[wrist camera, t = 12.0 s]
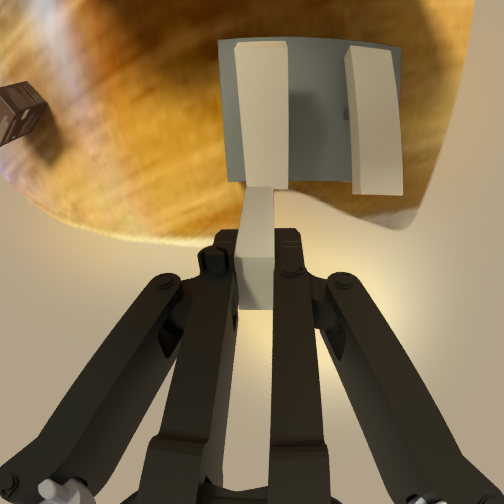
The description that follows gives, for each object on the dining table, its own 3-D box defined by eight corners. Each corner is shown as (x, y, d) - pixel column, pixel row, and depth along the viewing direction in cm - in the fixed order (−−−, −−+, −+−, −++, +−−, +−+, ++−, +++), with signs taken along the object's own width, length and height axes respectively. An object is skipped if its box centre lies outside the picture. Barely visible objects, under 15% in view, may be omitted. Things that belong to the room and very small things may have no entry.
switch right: (352, 194, 28) (360, 193, 25) (343, 57, 26) (350, 45, 23) (391, 195, 28) (403, 195, 25) (381, 62, 25) (390, 50, 22)
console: (232, 172, 38) (225, 192, 33) (223, 42, 29) (213, 37, 24) (381, 173, 37) (399, 194, 31) (388, 48, 28) (410, 46, 22)
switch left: (248, 172, 32) (246, 189, 30) (237, 42, 22) (234, 48, 20) (286, 172, 32) (287, 189, 30) (285, 40, 22) (287, 47, 20)
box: (30, 133, 35) (-1, 149, 29) (10, 110, 33) (-22, 123, 27) (48, 102, 33) (15, 114, 27) (27, 79, 30) (-7, 88, 24)
